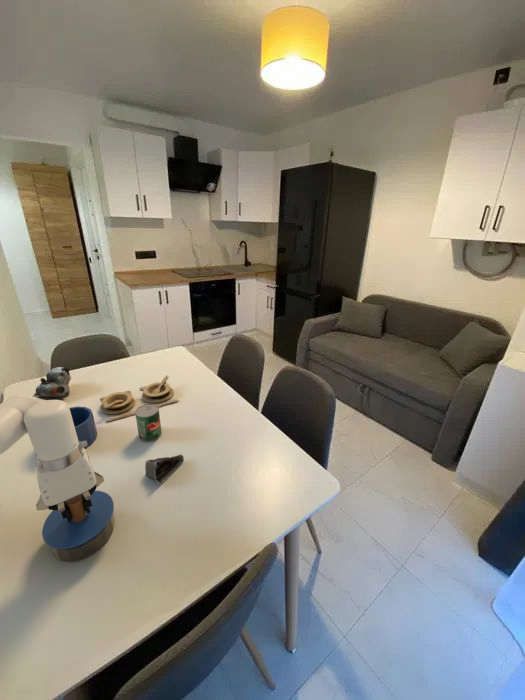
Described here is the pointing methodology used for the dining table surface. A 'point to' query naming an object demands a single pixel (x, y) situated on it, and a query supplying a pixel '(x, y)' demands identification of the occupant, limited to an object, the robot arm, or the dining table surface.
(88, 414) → the pot
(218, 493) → the dining table surface
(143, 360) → the dining table surface
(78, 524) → the pot lid
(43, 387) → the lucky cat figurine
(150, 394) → the tableware set
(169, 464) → the chocolate cake
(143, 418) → the canned tomato
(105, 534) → the bowl
